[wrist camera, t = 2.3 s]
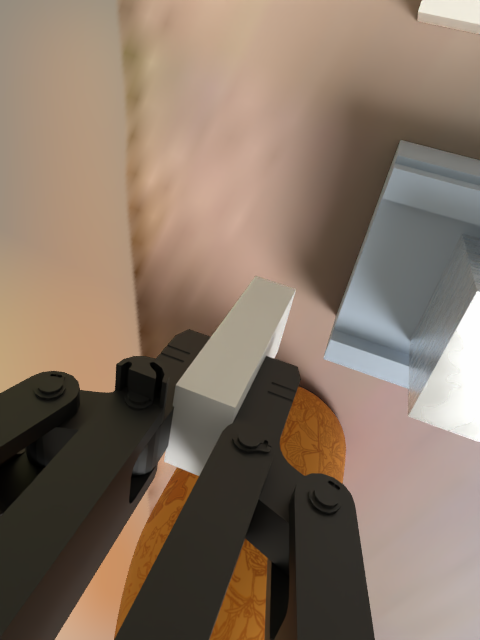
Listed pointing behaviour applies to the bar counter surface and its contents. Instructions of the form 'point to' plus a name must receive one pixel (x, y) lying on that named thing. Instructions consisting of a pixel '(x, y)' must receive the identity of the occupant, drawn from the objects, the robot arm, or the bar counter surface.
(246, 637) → the wine bottle
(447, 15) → the cradle
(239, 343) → the robot arm
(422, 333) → the grey long rectangular block
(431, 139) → the bar counter surface
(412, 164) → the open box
